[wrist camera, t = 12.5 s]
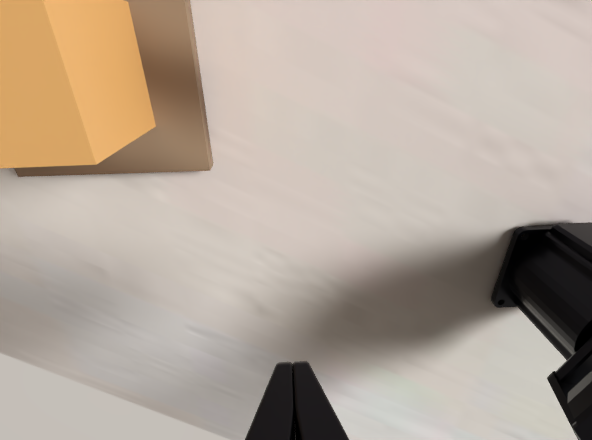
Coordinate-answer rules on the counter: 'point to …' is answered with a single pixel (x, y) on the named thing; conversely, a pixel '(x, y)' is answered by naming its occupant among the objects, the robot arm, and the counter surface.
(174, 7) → the walnut base
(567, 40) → the counter surface
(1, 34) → the tan wooden cube
